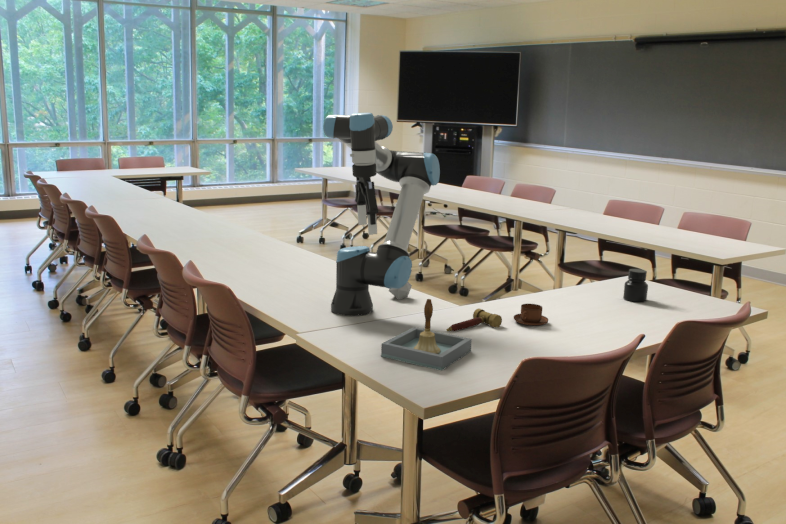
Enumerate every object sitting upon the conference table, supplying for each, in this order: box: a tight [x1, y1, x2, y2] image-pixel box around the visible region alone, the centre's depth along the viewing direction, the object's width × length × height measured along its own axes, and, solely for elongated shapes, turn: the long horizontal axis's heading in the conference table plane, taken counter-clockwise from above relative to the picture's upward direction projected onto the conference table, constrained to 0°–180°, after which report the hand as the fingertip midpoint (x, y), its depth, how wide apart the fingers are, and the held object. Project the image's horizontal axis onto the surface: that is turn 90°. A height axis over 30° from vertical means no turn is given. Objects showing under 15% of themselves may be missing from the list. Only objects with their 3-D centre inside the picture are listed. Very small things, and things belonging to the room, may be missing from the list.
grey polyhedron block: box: [388, 281, 413, 300], centre depth 274 cm, size 8×9×10 cm
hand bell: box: [413, 298, 441, 354], centre depth 211 cm, size 8×8×16 cm
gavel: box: [445, 308, 503, 332], centre depth 241 cm, size 21×5×10 cm
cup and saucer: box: [513, 303, 549, 327], centre depth 247 cm, size 12×12×6 cm
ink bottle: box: [622, 268, 649, 303], centre depth 282 cm, size 10×9×12 cm
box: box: [380, 326, 472, 372], centre depth 213 cm, size 20×20×4 cm
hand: (367, 229), depth 227 cm, fingers open, 13 cm apart
